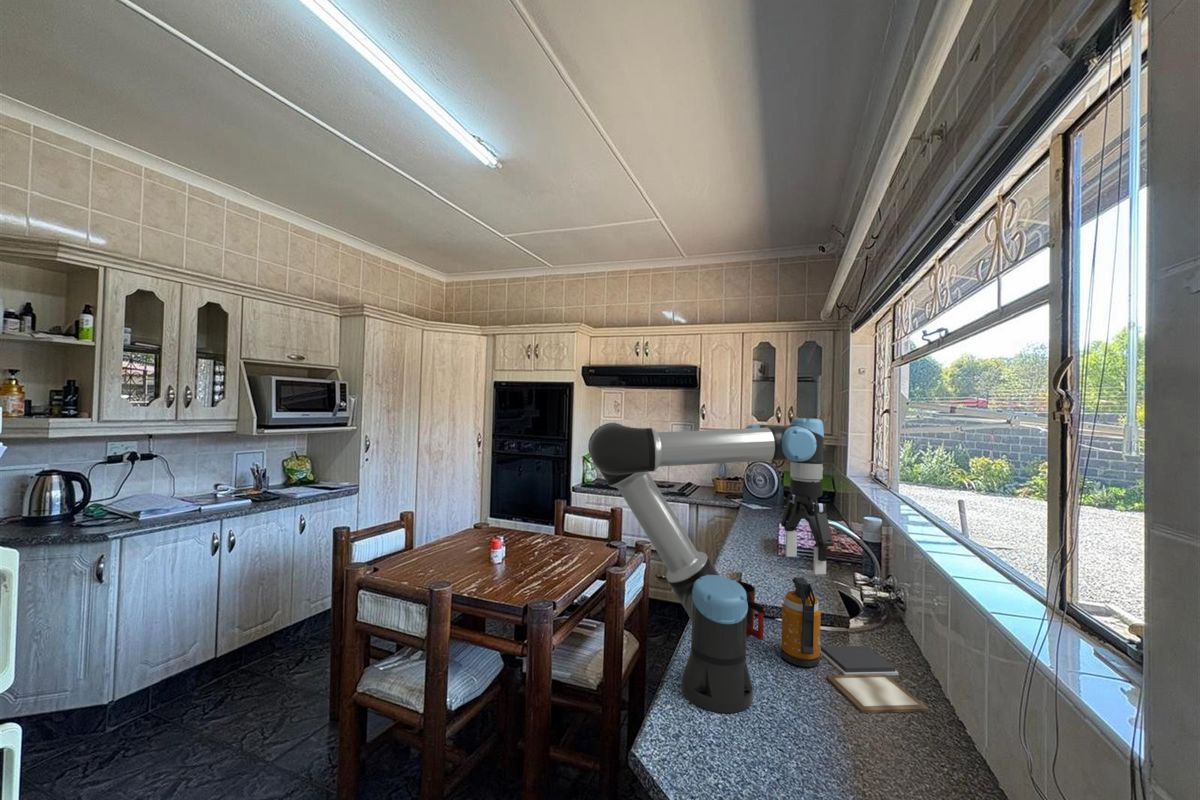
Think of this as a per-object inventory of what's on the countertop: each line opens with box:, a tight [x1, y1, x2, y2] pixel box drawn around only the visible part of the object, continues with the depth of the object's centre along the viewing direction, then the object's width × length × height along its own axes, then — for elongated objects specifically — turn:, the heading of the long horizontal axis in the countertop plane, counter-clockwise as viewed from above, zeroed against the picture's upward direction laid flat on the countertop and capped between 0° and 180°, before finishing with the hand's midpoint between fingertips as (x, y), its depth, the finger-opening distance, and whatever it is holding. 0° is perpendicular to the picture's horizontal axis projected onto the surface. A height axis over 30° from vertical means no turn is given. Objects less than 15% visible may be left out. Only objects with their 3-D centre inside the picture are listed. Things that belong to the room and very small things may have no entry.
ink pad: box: [820, 645, 900, 676], centre depth 120 cm, size 14×12×2 cm
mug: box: [735, 580, 765, 641], centre depth 135 cm, size 10×14×12 cm
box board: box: [825, 674, 930, 714], centre depth 106 cm, size 15×13×1 cm
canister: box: [780, 576, 822, 667], centre depth 119 cm, size 9×11×20 cm
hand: (804, 564), depth 120 cm, fingers open, 13 cm apart
